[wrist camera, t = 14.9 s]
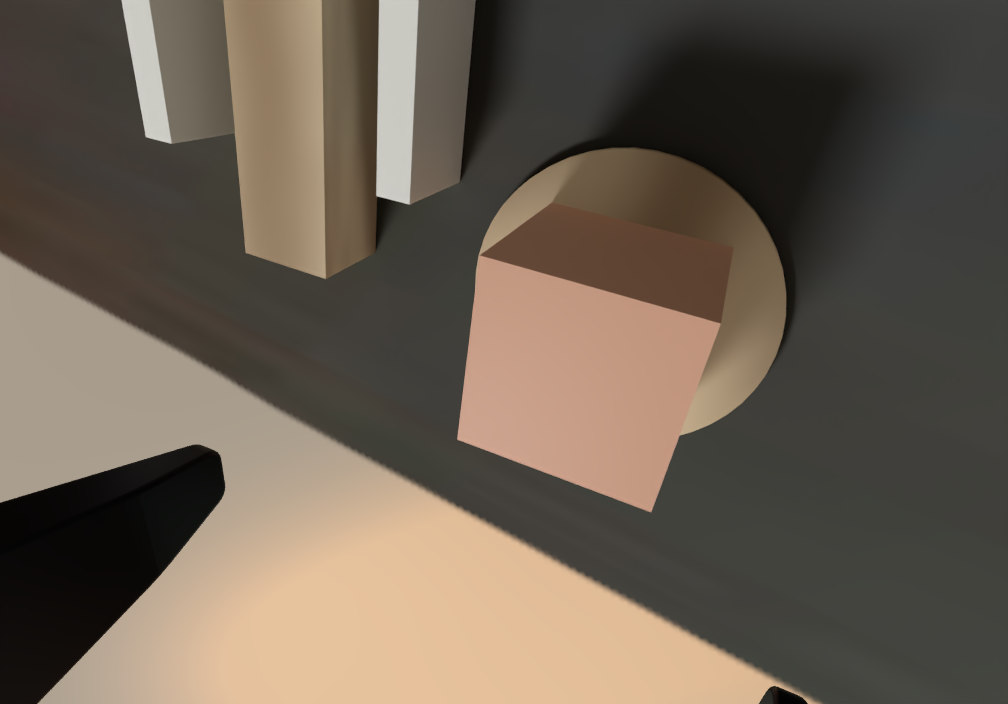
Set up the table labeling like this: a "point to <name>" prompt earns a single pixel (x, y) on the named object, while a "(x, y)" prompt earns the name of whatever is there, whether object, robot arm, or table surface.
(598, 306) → the block
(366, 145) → the bar
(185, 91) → the channel
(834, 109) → the table surface
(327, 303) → the table surface
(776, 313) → the coaster
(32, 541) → the robot arm
